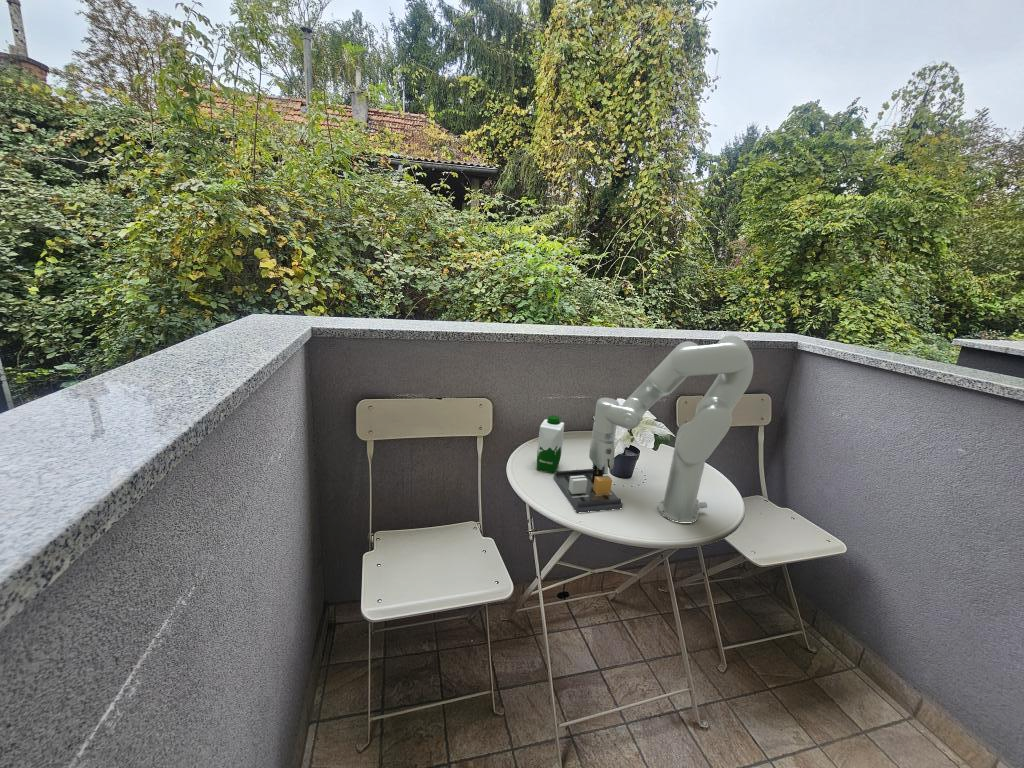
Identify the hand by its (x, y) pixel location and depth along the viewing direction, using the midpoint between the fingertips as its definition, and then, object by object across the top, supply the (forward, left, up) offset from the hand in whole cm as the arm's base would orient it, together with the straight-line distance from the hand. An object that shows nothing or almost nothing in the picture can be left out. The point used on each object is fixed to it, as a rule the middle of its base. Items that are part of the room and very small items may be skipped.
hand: (596, 482), depth 154 cm
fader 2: (0, +4, -1) cm, 4 cm away
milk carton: (+12, -18, -4) cm, 22 cm away
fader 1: (+9, +3, -1) cm, 9 cm away
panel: (+4, +1, -3) cm, 5 cm away
